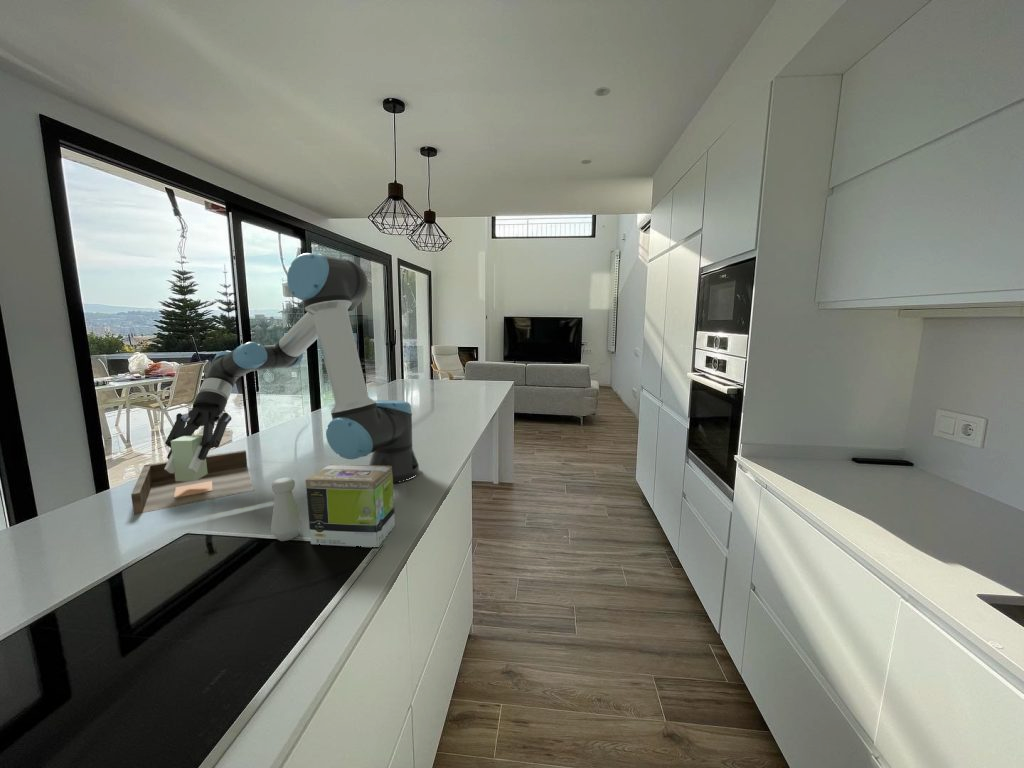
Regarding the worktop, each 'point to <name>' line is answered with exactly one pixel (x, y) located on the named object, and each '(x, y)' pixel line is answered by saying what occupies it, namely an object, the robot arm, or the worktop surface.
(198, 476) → the sage block
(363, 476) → the tea box
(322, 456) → the worktop surface
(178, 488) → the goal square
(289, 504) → the salt shaker
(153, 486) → the tray
